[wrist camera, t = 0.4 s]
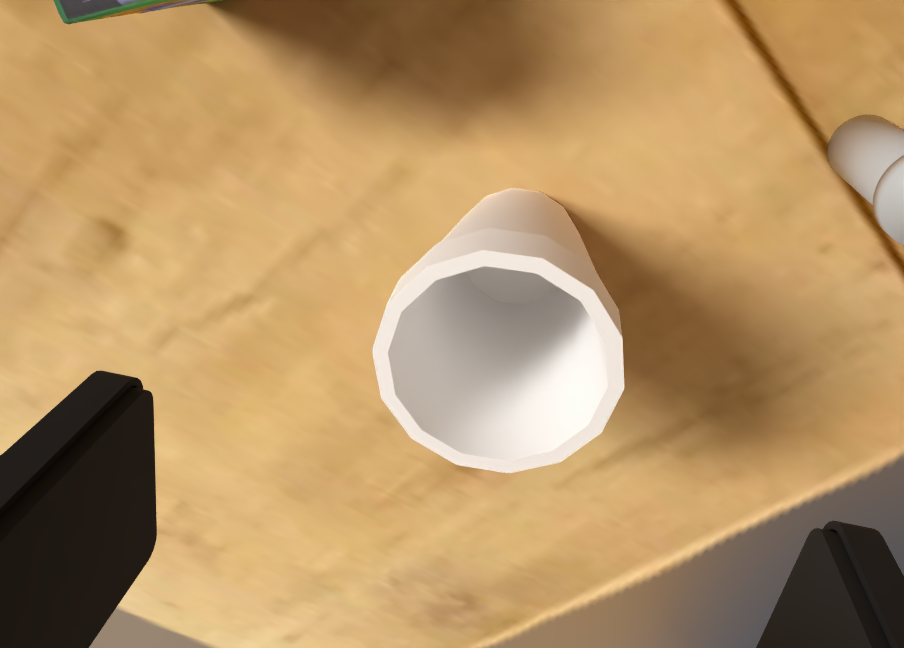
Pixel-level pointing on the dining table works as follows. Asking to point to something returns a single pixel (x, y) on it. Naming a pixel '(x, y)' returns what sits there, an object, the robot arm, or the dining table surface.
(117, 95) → the dining table surface
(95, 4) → the chalk box
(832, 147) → the grey peg
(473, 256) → the foam cup
